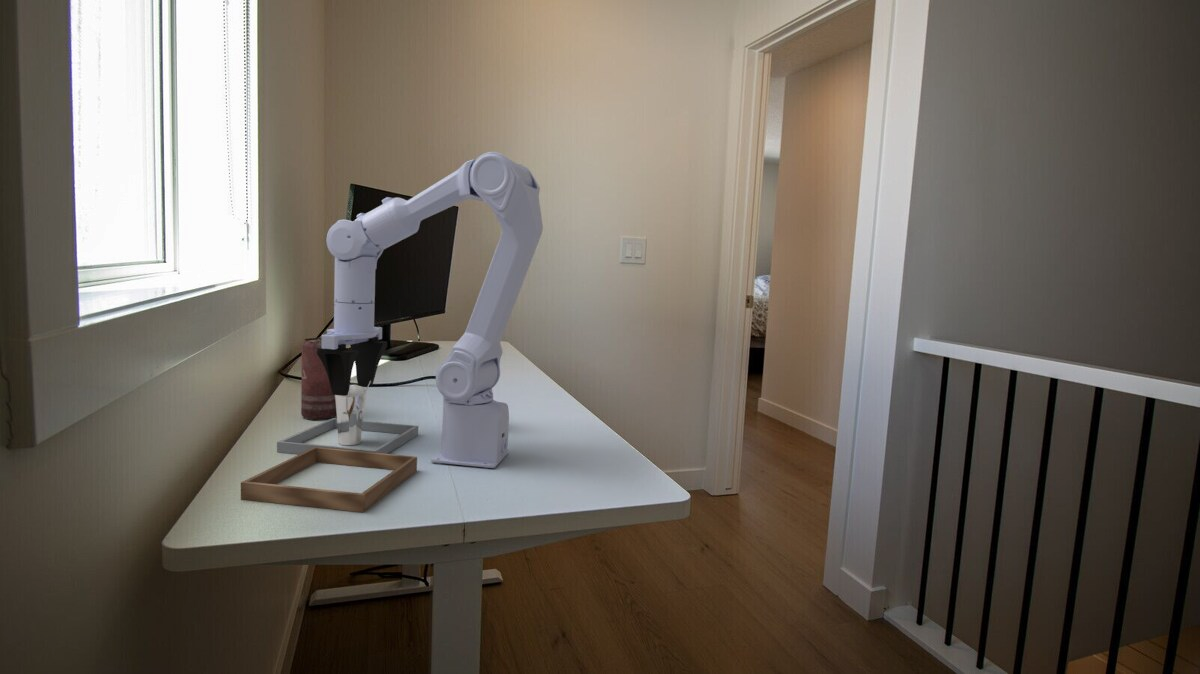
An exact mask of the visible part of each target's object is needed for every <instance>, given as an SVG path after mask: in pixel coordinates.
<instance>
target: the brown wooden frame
mask: <svg viewBox="0 0 1200 674" xmlns="http://www.w3.org/2000/svg"><path fill="white" fill-rule="evenodd" d="M315 463H321V464H331V465H342V466H349V467H350V466H351V467H360V468H371V469H373V468H374V469H382V470H390V471H391V470H392V471H391V472H390V473H388V474H387V475H385V476H383V478H382V479H380V480H378V481H377V482H375V483H373V485H371V486H370V487H369V488H367V489H365V490H364V491H362V492H351V491H344V490H343V491H341V490H332V489H322V488H314V487H313V488H312V487H303V486H293V485H284V484H277V483H279V482H281V481H283V480H284V479H286V478H288V477H290V476H293V475H295V474H296V473H297V472H300V471H302V470H303V469H306V468H307V467H310V466H312V465H313V464H315ZM417 471H418V456H416V455H415V456H414V455H402V454H394V453H393V454H392V453H388V454H384V453H373V452H363V451H352V450H342V449H332V448H321V447H313V448H311V449H309V450H307V451H305V452H303V453H301V454H296V455H295V456H293V457H291V458H289V459H287V460H284V461H282V462H280V463H278V464H277V465H275V466H272V467H270V468H268V469H265V470H264V471H262V472H260V473H257V474H256V475H254V476H251V477H250V478H247V479H245V480H243V481H240V500H243V501H244V500H246V501H253V502H254V501H256V502H265V503H273V504H274V503H275V504H280V505H281V504H283V505H290V506H291V505H292V506H299V507H300V506H301V507H310V508H311V507H312V508H319V509H329V510H330V509H331V510H340V511H347V512H355V513H357V512H358V513H364V512H365V511H367V510H368V509H370V508H371V507H372V506H373V505H374V504H376V503H377V502H378V501H380V500H381V499H382V498H383V497H385V496H386V495H388V493H390V492H391V491H393V490H394V489H395V488H396V487H398V486H399V485H401V484H402V483H403V482H404V481H406V480H407V479H408V478H409V477H411V476H412V475H414V473H416V472H417Z"/></svg>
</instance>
